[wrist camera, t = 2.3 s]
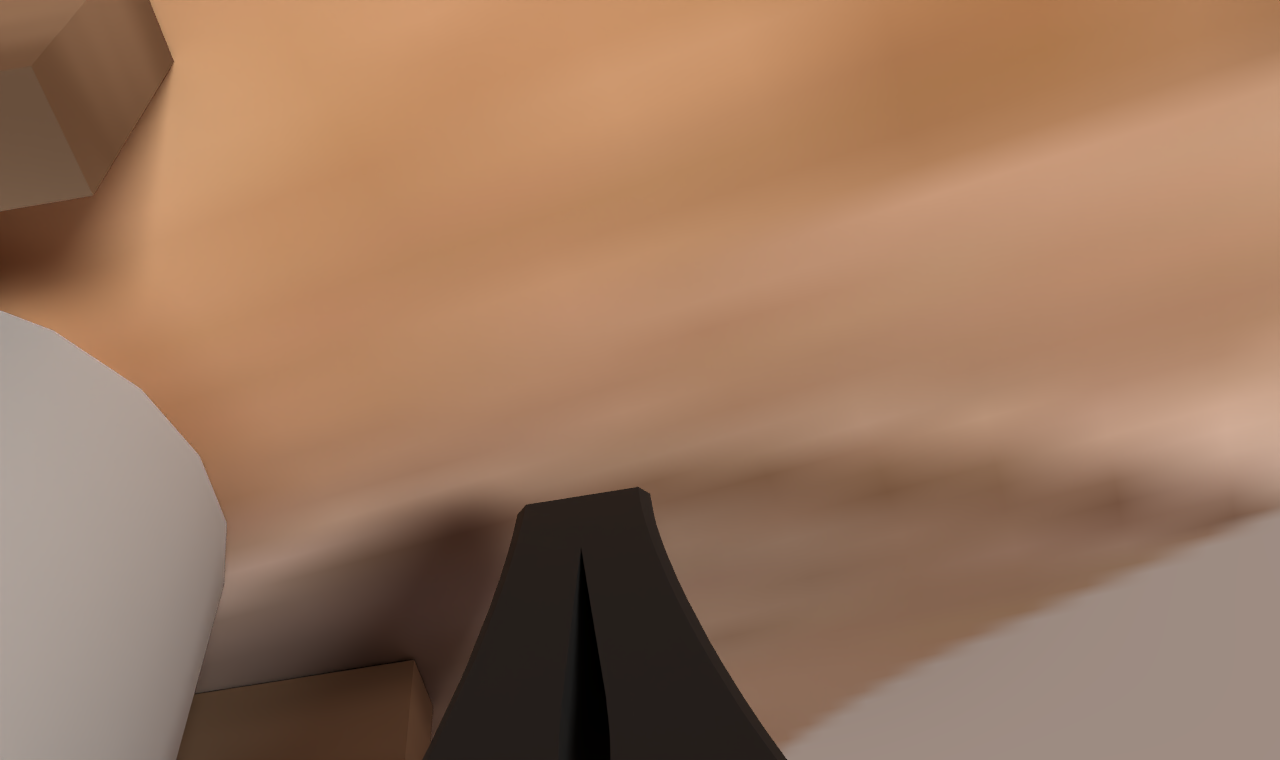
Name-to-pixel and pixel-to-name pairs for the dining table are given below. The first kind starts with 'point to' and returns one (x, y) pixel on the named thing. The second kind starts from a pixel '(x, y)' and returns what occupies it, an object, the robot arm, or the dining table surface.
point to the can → (97, 559)
